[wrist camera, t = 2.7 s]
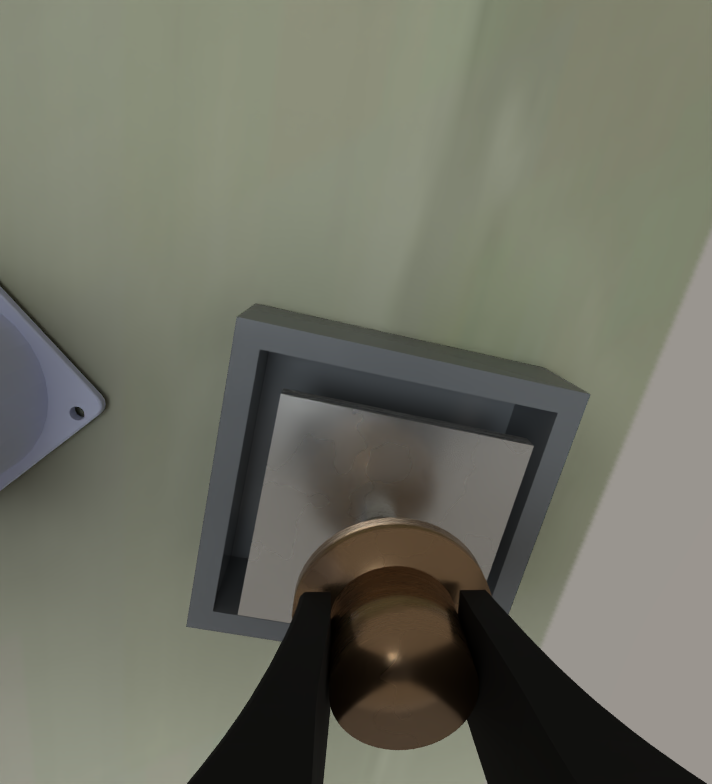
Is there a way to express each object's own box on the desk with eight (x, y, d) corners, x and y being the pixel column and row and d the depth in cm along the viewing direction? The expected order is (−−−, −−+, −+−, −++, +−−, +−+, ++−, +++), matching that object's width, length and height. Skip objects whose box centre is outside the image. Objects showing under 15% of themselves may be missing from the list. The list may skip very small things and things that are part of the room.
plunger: (457, 637, 17) (523, 847, 11) (240, 601, 17) (187, 806, 10) (526, 438, 15) (651, 563, 9) (282, 387, 15) (246, 488, 8)
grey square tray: (463, 607, 22) (486, 672, 18) (210, 564, 21) (186, 626, 17) (544, 367, 19) (590, 394, 15) (255, 303, 18) (236, 316, 14)
